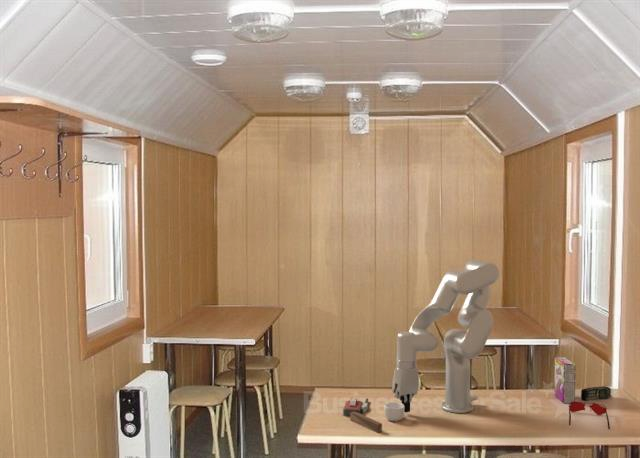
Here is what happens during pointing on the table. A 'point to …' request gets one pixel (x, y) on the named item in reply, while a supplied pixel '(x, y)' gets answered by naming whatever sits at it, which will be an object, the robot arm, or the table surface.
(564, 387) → the candy bar box
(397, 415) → the teacup
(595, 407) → the glasses
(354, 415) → the stop bar
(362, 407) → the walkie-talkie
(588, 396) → the mobile phone
